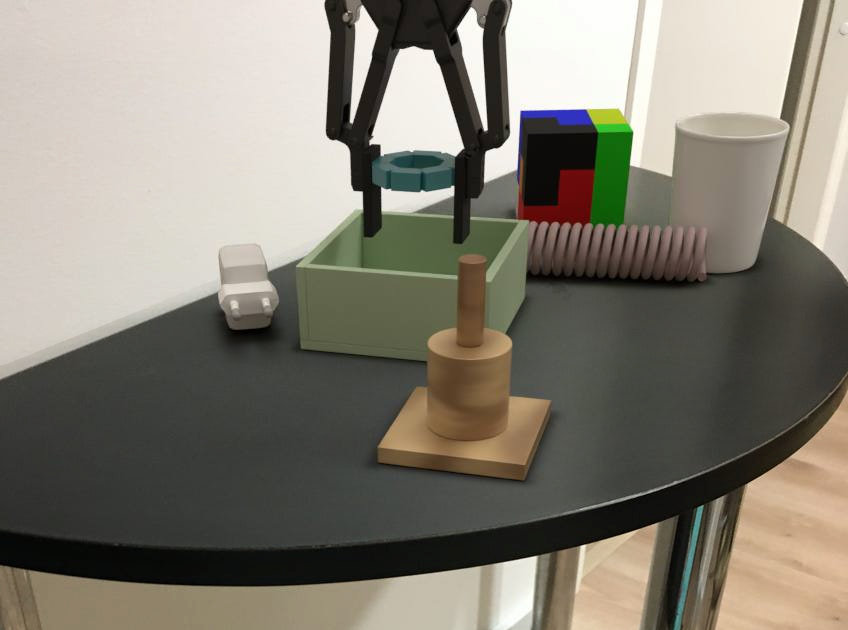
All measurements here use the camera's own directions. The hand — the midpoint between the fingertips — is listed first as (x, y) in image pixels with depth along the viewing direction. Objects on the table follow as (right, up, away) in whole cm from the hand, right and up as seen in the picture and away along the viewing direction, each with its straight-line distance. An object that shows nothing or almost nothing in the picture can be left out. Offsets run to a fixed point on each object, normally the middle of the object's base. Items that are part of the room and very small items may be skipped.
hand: (416, 235), depth 90 cm
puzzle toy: (+17, +10, +25) cm, 32 cm away
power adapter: (-14, -7, +4) cm, 16 cm away
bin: (0, -6, +4) cm, 7 cm away
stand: (+3, -19, -13) cm, 23 cm away
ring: (0, +3, -3) cm, 4 cm away
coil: (+18, 0, +12) cm, 22 cm away
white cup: (+29, +3, +15) cm, 33 cm away
